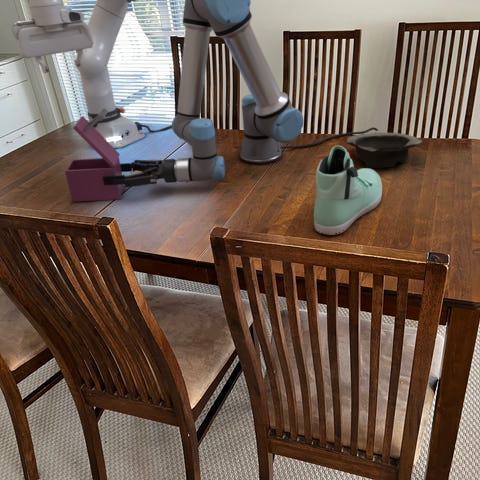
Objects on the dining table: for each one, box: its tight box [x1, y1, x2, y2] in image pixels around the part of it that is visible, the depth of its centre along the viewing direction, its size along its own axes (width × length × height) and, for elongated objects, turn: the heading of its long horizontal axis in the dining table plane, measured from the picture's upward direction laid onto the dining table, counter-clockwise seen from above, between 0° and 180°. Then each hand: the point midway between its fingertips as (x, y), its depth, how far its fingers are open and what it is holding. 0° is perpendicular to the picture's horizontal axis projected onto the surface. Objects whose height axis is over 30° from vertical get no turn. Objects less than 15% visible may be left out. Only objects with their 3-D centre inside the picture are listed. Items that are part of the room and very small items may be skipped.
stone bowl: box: [346, 132, 423, 169], centre depth 166 cm, size 25×25×9 cm
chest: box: [64, 156, 125, 203], centre depth 156 cm, size 15×9×11 cm, turn 92°
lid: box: [72, 109, 120, 167], centre depth 148 cm, size 16×9×9 cm
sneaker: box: [313, 145, 383, 236], centre depth 133 cm, size 14×35×20 cm, turn 152°
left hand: (62, 69), depth 138 cm, fingers open, 8 cm apart
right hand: (107, 174), depth 155 cm, fingers closed on chest, 9 cm apart
